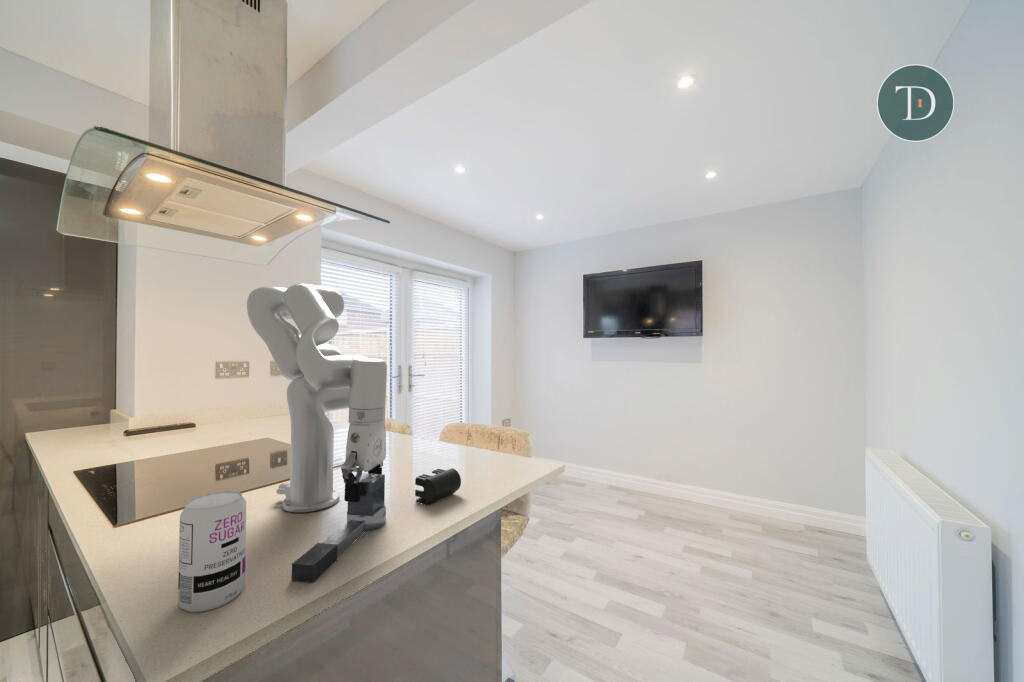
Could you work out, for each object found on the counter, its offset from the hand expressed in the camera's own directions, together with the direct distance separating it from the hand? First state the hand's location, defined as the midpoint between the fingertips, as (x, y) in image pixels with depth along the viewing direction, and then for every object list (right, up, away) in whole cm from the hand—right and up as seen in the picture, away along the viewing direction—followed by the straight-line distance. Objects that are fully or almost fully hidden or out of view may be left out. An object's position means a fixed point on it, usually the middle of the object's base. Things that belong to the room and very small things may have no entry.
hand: (363, 492), depth 87 cm
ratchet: (0, -6, -9) cm, 11 cm away
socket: (+1, -4, -1) cm, 4 cm away
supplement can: (-13, -6, -26) cm, 30 cm away
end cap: (+14, -7, +14) cm, 21 cm away
